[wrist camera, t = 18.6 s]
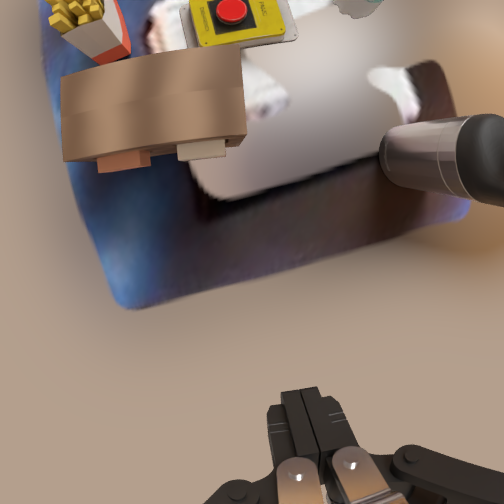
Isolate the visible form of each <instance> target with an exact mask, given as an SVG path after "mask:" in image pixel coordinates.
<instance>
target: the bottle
mask: <svg viewBox="0 0 504 504" xmlns="http://www.w3.org/2000/svg"><path fill="white" fill-rule="evenodd" d="M382 1H384V0H333V2H334V4H335V5H337V6H338V7H339V11H340V12H341V13H342V14H348V15H350V16H351V17H352V18H353V19H358V18H361V17H366V16H368V15H370V14H371V13H373V12H374V10H375V9H376V8H377V7H378V6H379V5H380V4H381V2H382Z"/></svg>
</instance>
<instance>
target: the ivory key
mask: <svg viewBox="0 0 504 504" xmlns="http://www.w3.org/2000/svg"><path fill="white" fill-rule="evenodd" d="M177 155H178V160H179V161H189V160H198V159H207V158H217V157H225V156H226V151H225V139H223V140H213V141H203V142H194V143H186V144H178V145H177Z"/></svg>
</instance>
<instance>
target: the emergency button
mask: <svg viewBox="0 0 504 504" xmlns="http://www.w3.org/2000/svg"><path fill="white" fill-rule="evenodd" d="M180 15H181V20H182V24H183V28H184V32H185V37H186V41H187V45H188V49H189V48H197V47H207V46H217V45H230V44H240V48H244V49H247V48H252V47H258V46H264V45H271V44H278V43H285V42H293V41H295V40H296V39H297V38H298V32H297V28H296V25H295V22H294V19H293V16H292V13H291V10H290V7H289V4H288V2H287V0H189V4H185V5H183V6H182V7H181V8H180Z"/></svg>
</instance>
